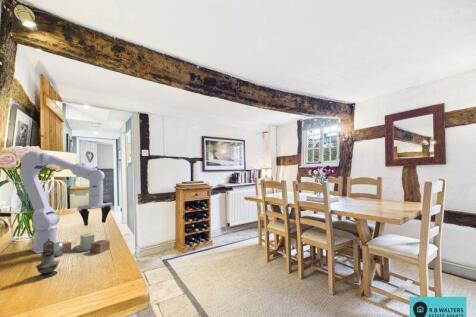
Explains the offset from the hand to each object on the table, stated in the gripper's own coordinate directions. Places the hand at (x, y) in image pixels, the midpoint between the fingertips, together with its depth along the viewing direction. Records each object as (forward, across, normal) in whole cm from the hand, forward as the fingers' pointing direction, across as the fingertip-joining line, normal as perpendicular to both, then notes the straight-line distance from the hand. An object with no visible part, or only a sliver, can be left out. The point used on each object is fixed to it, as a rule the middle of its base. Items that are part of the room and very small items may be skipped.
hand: (95, 223), depth 106 cm
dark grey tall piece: (+10, -23, -21) cm, 33 cm away
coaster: (+10, -4, -2) cm, 11 cm away
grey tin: (+10, -15, -2) cm, 18 cm away
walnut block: (+10, -2, -11) cm, 15 cm away
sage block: (+9, -4, -2) cm, 10 cm away
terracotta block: (+10, -12, +3) cm, 16 cm away
